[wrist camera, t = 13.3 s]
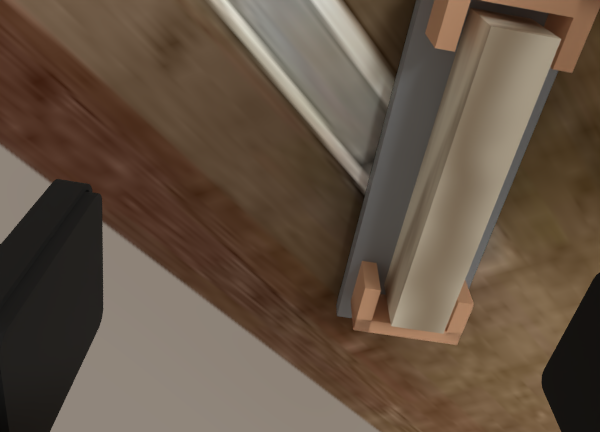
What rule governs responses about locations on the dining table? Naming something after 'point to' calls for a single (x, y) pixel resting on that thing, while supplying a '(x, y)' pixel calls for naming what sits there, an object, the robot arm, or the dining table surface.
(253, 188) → the dining table surface
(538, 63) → the slat
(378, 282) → the board
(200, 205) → the dining table surface
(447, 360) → the dining table surface
